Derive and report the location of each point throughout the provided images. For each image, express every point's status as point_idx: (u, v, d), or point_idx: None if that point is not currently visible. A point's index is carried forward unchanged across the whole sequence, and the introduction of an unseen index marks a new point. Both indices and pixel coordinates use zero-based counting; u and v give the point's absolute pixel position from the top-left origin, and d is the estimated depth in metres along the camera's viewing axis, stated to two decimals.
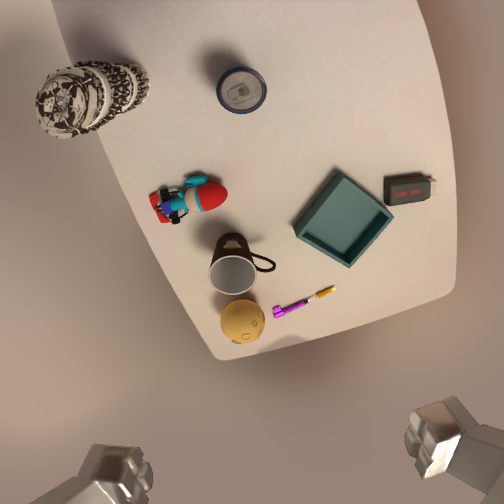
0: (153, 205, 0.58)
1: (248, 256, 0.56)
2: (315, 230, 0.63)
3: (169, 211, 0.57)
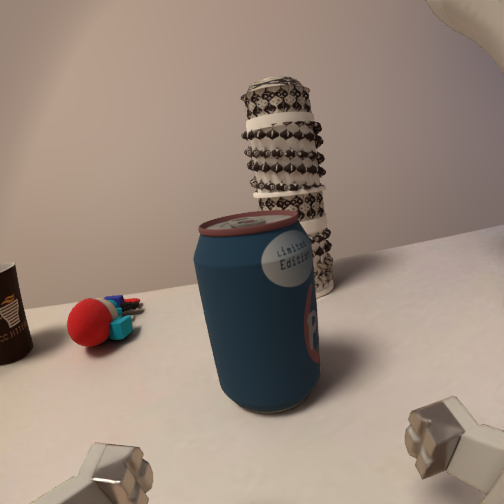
0: (126, 299, 0.40)
1: None
2: None
3: (106, 298, 0.37)
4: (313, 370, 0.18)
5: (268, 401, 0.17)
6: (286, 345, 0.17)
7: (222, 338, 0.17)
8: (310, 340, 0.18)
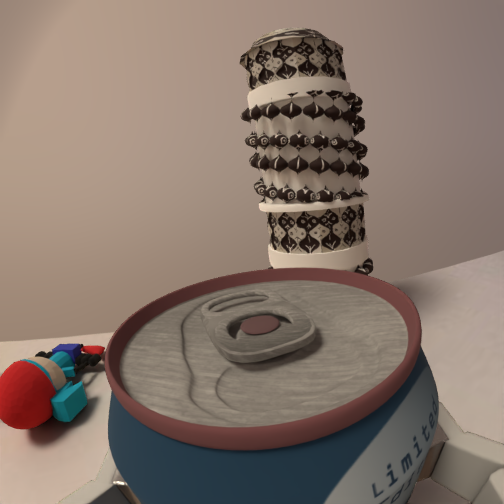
0: (87, 346, 0.28)
1: None
2: None
3: (58, 348, 0.24)
4: None
5: None
6: None
7: None
8: None
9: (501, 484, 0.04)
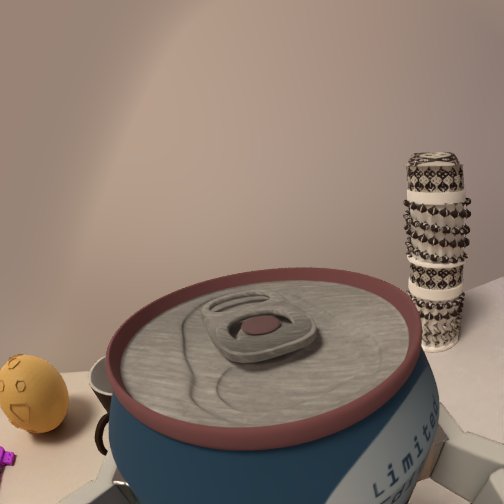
0: None
1: None
2: None
3: None
4: None
5: None
6: None
7: None
8: None
9: (501, 484, 0.04)
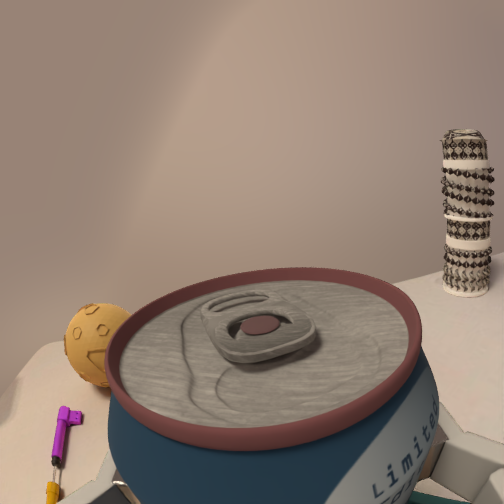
0: None
1: None
2: None
3: None
4: None
5: None
6: None
7: None
8: None
9: (501, 484, 0.04)
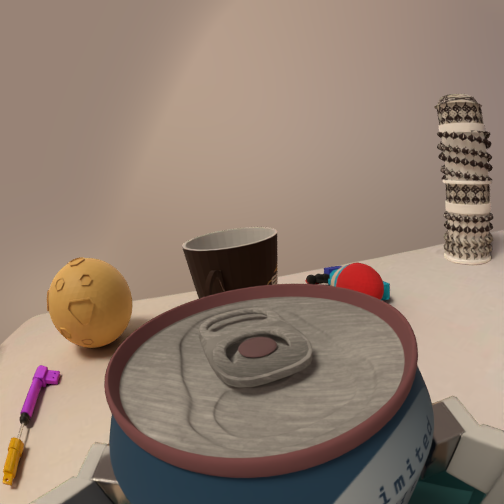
0: None
1: (259, 261, 0.26)
2: None
3: (330, 268, 0.40)
4: None
5: None
6: None
7: None
8: None
9: None
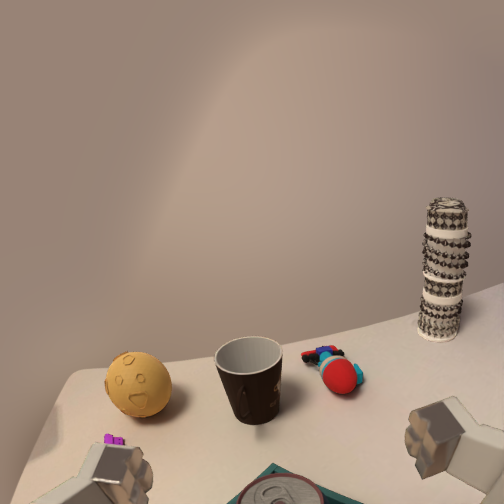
0: None
1: (270, 377, 0.36)
2: None
3: (320, 350, 0.50)
4: None
5: None
6: None
7: None
8: None
9: None
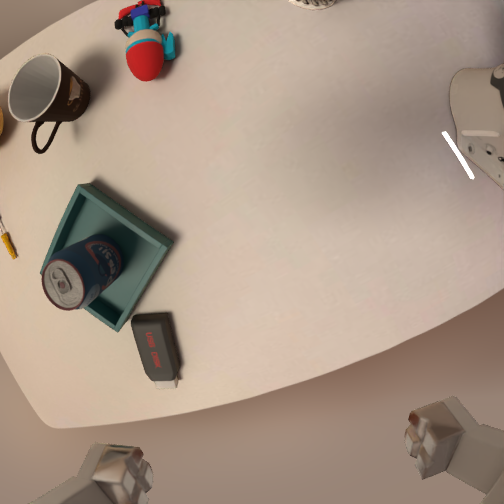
0: (145, 0, 0.31)
1: (55, 107, 0.28)
2: (87, 216, 0.39)
3: (134, 14, 0.31)
4: (118, 275, 0.39)
5: None
6: None
7: None
8: (111, 281, 0.36)
9: None
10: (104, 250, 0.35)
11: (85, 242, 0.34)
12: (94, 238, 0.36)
